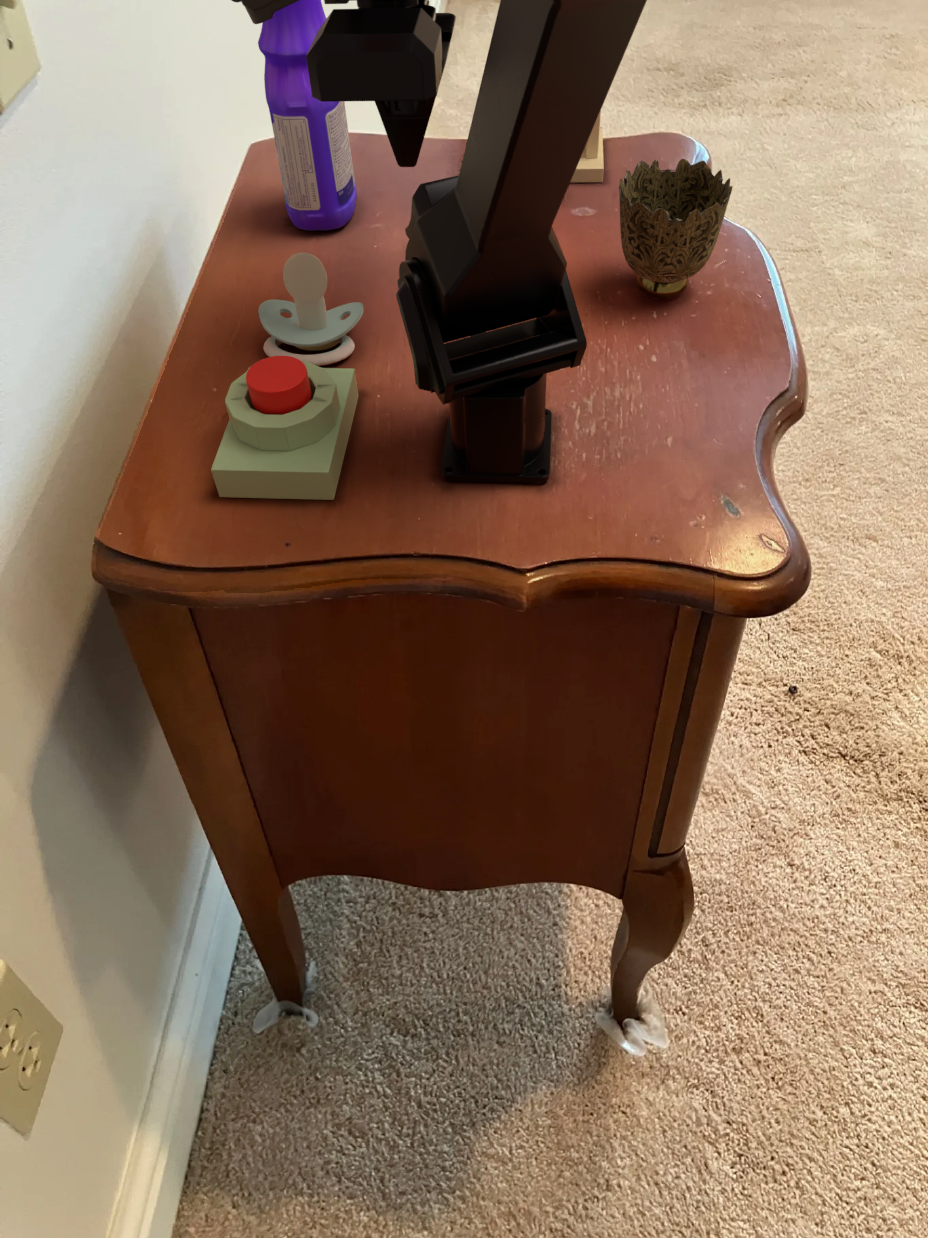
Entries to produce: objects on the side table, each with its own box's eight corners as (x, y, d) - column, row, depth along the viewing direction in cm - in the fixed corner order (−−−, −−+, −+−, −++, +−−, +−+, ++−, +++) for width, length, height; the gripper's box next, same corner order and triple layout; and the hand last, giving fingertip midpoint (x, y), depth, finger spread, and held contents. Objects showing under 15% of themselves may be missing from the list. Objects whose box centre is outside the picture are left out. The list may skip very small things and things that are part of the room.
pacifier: (354, 375, 64) (372, 322, 68) (341, 294, 59) (360, 241, 63) (251, 370, 65) (273, 318, 68) (229, 289, 60) (254, 238, 64)
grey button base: (334, 500, 56) (323, 448, 53) (219, 497, 57) (202, 445, 54) (358, 395, 62) (350, 343, 59) (255, 394, 63) (242, 342, 60)
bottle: (297, 193, 81) (254, -47, 67) (363, 192, 80) (333, -49, 67) (283, 237, 76) (234, -11, 62) (353, 236, 76) (319, -14, 62)
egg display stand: (602, 182, 80) (612, 48, 72) (531, 182, 80) (533, 49, 72) (601, 139, 85) (610, 10, 77) (534, 140, 85) (537, 11, 77)
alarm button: (305, 416, 55) (300, 392, 54) (245, 415, 56) (239, 391, 54) (316, 379, 58) (311, 355, 56) (258, 378, 58) (252, 354, 57)
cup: (709, 263, 71) (728, 156, 65) (716, 319, 66) (737, 209, 60) (610, 262, 72) (619, 155, 65) (609, 317, 67) (619, 208, 61)
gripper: (257, -201, 52) (305, 100, 64) (162, -104, 40) (243, 243, 52) (459, -208, 51) (469, 99, 63) (423, -111, 39) (444, 244, 51)
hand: (407, 164), depth 57 cm, fingers closed
